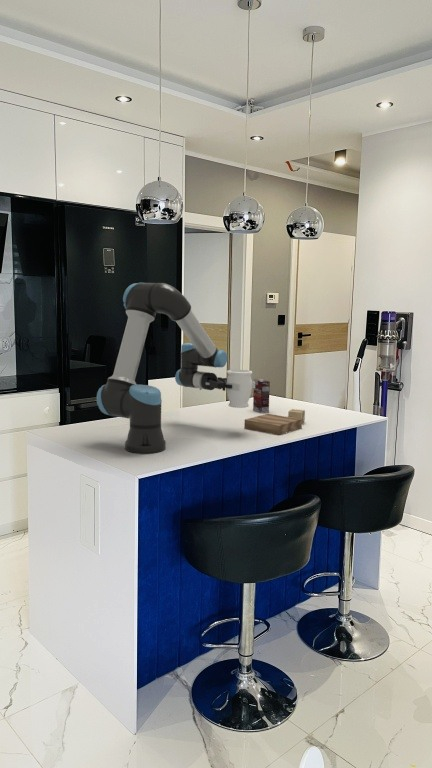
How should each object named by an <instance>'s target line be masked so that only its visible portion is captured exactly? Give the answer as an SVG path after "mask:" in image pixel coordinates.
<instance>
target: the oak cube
mask: <svg viewBox="0 0 432 768" xmlns="http://www.w3.org/2000/svg"><path fill="white" fill-rule="evenodd" d="M305 415H306V411H305V409H297V408H296V409H295V408H291V409H290V410H288V415H287V417H291V418H297V419H302V425H304V424H305V423H306V422H305V419H306V416H305ZM303 423H304V424H303Z"/></svg>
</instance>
